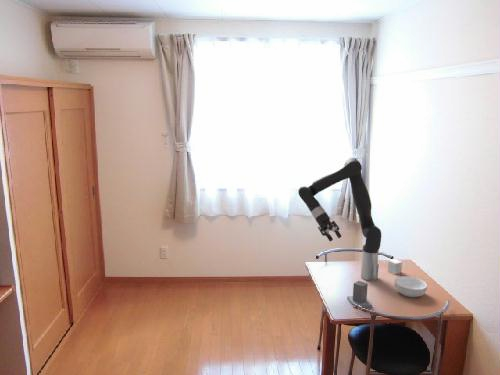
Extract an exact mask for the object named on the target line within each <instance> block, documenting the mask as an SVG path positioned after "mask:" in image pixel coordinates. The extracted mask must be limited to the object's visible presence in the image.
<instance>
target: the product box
mask: <svg viewBox="0 0 500 375" xmlns="http://www.w3.org/2000/svg"><path fill="white" fill-rule="evenodd" d="M387 262H388V263H387V273H388V272H389V273H390V272H391V274H393V275H398V274H401V273H402V269H403V268H402V267H403V261H401V260H398V259H395V258H394V259H390V260H388V261H387Z"/></svg>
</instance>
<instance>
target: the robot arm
mask: <svg viewBox="0 0 500 375" xmlns="http://www.w3.org/2000/svg"><path fill="white" fill-rule="evenodd" d="M362 169H363V166H362V164H361V162H360V161H359V160H358V159H356V158H353V157H349V158H348V159H347V160H345V163H344V165H343V167H342V168H340V169H339V170H337V171H334V172H332V173H329V174H327V175H325V176H321V177H320V178H318V179H316V180H314V181H313V182H312V184H311V185H309V186H306V185H304V186H301V187H299V189H298V190H297V191H298V196H299V197H300V199H301V200H302V201H303V203H304V204H305V205H306V207H307V208H308V210H309V212H310V213H311V215H312V217H313V218H314V220H315V221H316V223H317V225H318V226H317V229H318V230H319V232H320V234H321V235H322V237H326V238H327V240H328V241H329V242H332V241H333V240H334V239H333V237H332V235H331V234H330V232H333V233H334V234H335V236H336V237H337V238H338V239H341V237H342V234H341V233H340V231H339V230H340V227H339V225H338V224H337V222H336V221H335V220H332V221H331V217H330V216H329V214H328V213H327V212H326V210H325V209H324V208H323V206H322V204H320V202H319V200H317V199H316V197H315V196H316V195H317V194H319V193H320V192H322V191H324V190H327V189H328V188H329V187H332V186H334V185H335V184H337V183H340V182H342V181H344V180H347V179H348V180H349V182H350V187H351V193H352V198H353V202H354V205H355V208H356V212H357V215H358V218H359V220H360V221H359V222H360V227H361V234H362V235H363V237H365V244H364V245H362V252H361V253H362V254H361V267H360V269H361V270H360V278H361V279H363V280H365V281H376V280H378V279H379V269H380V268H379V266H380V264H379V263H378V262H379V261H378V260H379V250H380V248H381V242H382V230H381V229H380V228H379V227H378V226H376V225H375V222H374V220H373V216H372V200H371V197H370V194H369V191H368V189H367V186H366V184H365V182H364V180H363V175H362Z"/></svg>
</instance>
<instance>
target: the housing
mask: <svg viewBox="0 0 500 375" xmlns="http://www.w3.org/2000/svg"><path fill="white" fill-rule="evenodd" d="M368 284H369V283H368V282H364V281H361V280H358V281H356V282H354V283H353V287H352V289H353V291H352V296H353V300H354V301H356V302H359V303H363V302H365V301H366V300H367V298H368V296H367V295H368V286H369V285H368Z"/></svg>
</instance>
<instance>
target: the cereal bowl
mask: <svg viewBox="0 0 500 375" xmlns="http://www.w3.org/2000/svg"><path fill="white" fill-rule="evenodd" d="M394 287H395V289H396V290H397V291H398V293H400V294H402V295H403V296H405V297H408V298H417V297H421V296H423V295H425V294H426V292H427V289H428V284H427V283H426V282H425V281H424V280H422V279H420V278H417V277H413V276H408V275H407V276H406V275H405V276H403V275H402V276H399V277H396V278H395V279H394Z"/></svg>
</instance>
